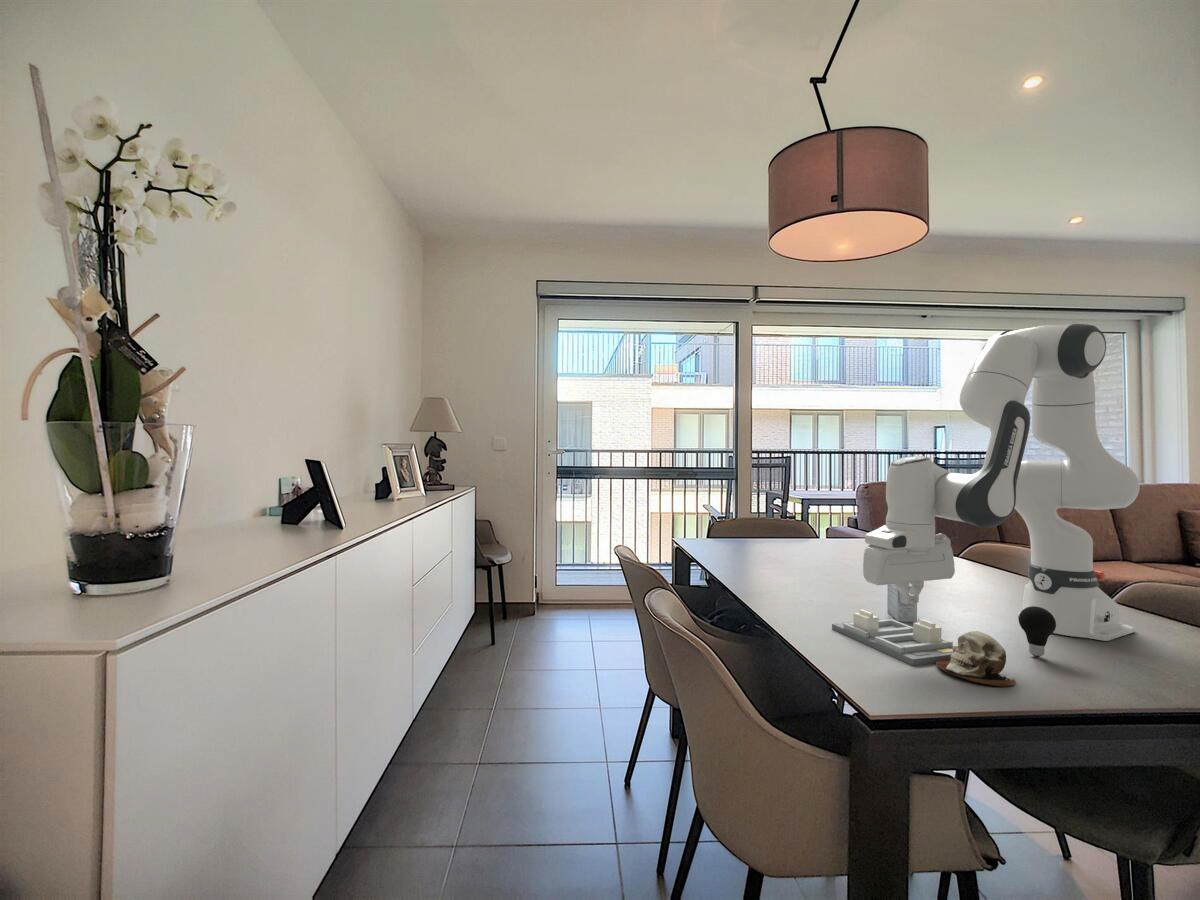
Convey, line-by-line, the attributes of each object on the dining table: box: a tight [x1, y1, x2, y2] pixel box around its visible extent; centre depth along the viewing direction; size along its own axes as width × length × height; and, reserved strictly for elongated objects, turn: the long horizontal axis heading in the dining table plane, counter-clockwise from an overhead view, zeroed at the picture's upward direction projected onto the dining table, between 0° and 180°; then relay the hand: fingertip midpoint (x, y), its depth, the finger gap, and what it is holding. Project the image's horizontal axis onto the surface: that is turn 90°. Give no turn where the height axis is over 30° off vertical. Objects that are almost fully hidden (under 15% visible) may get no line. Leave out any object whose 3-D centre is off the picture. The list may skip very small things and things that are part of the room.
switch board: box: [831, 618, 954, 667], centre depth 117 cm, size 22×14×2 cm, turn 17°
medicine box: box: [886, 582, 918, 624], centre depth 135 cm, size 8×4×9 cm, turn 168°
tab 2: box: [912, 618, 942, 643], centre depth 113 cm, size 3×4×4 cm
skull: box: [935, 630, 1017, 687], centre depth 101 cm, size 12×10×10 cm
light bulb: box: [1017, 606, 1056, 658], centre depth 109 cm, size 6×6×10 cm
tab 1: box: [852, 608, 879, 632], centre depth 120 cm, size 3×4×4 cm
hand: (909, 602), depth 113 cm, fingers closed
